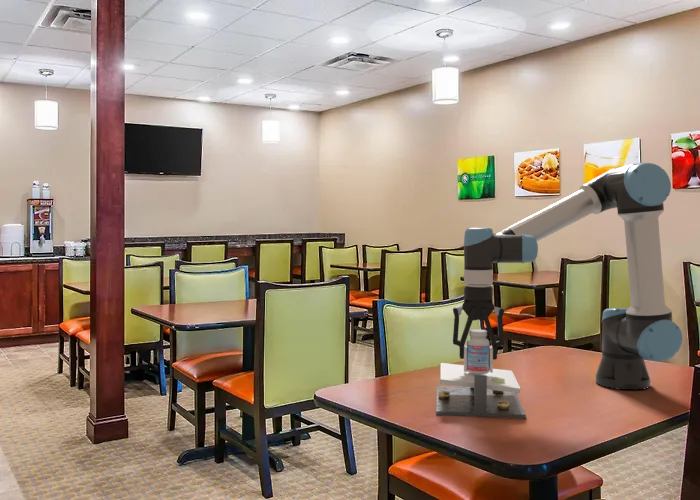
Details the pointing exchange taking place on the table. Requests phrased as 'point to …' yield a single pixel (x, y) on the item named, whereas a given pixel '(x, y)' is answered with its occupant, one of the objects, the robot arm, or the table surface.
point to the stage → (495, 380)
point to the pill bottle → (478, 352)
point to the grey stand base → (478, 401)
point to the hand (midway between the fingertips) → (478, 370)
